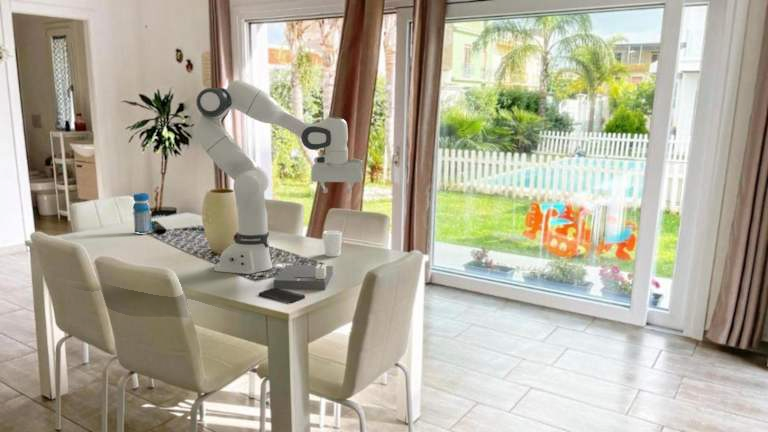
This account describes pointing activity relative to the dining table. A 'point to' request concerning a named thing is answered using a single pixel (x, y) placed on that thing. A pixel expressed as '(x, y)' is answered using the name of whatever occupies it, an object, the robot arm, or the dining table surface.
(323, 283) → the mixer panel
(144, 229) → the beverage bottle
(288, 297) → the phone
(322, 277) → the fader knob
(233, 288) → the dining table surface
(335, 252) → the white cup
